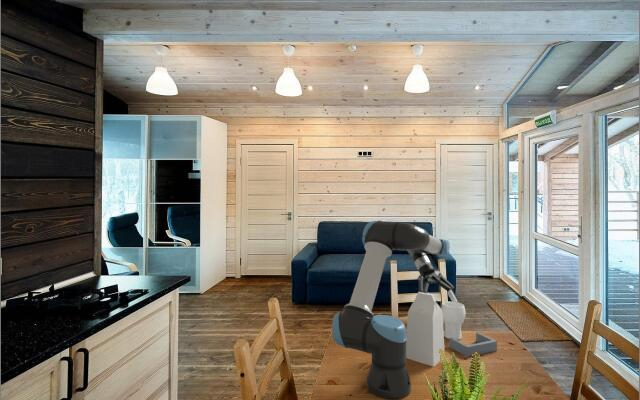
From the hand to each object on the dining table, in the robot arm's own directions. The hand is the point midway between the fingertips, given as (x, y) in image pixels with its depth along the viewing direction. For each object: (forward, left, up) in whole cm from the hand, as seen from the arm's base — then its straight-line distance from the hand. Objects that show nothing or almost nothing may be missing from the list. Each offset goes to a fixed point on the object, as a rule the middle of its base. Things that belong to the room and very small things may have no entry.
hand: (444, 304), depth 174 cm
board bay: (-2, -21, -13) cm, 25 cm away
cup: (-1, -7, -13) cm, 15 cm away
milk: (-26, -19, -13) cm, 35 cm away
